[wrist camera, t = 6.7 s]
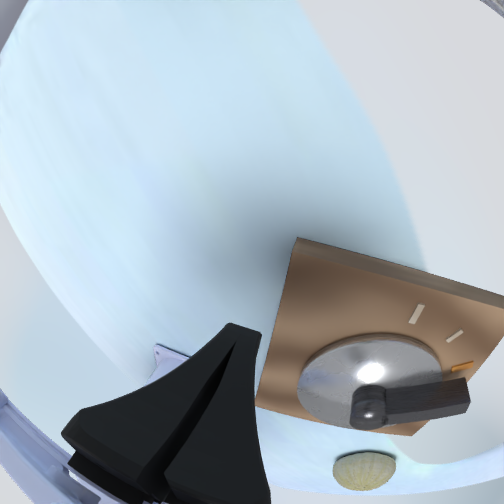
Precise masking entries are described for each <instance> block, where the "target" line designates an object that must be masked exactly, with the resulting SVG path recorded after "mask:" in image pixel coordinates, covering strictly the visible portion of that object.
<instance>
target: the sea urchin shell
mask: <svg viewBox="0 0 504 504" xmlns="http://www.w3.org/2000/svg"><path fill="white" fill-rule="evenodd" d="M395 470H396V463H395V461H394V460H393V459H392V458H391V457H389V456H387V455H382V454H380V453H373V452H365V453H356V454H353V455H349V456H348V455H347V456H346V457H342V458H341V459H339V460H337V462H335V464H334V465H333V476H334V478H335V479H336V481H337V482H338V483H339V484H340V485H342V486H343V487H345V488H347V489H350V490H356V491H358V490H360V491H364V490H367V491H368V490H372V489H375V488H378V487H380V486H382V485H383V484H385V483H386V482H388V480H389V479H390V478H391V477H392V476H393V474H394V472H395Z"/></svg>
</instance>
